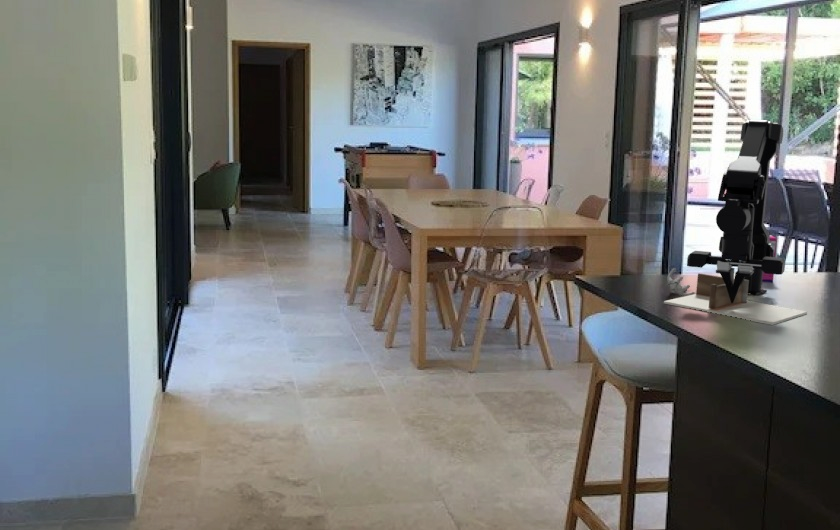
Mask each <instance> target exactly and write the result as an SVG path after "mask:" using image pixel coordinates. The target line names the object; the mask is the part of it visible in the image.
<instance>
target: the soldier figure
mask: <svg viewBox="0 0 840 530" xmlns="http://www.w3.org/2000/svg"><path fill="white" fill-rule="evenodd" d="M676 270H677V268H675V267H674V268H672V269H671V270H670V271H669V273H668V275H667V278H666V279H667V283H666V284H665V285H666V286H668V287H669V289H670V290H671V292H672V293H673V294H675V293H677V294H676V295H678V296H680V297H684V296H689V295H693V294H696V291H695V292H694V291H692V292H687V291H688V289H690V287H691V286H690V284H687V285H683V286H682V285H681V284H680V282H681V281H683V279H684V276H680V277H676V278H675V279H672V277H673V274H674V273H676Z"/></svg>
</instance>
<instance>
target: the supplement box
mask: <svg viewBox="0 0 840 530" xmlns="http://www.w3.org/2000/svg"><path fill="white" fill-rule="evenodd" d="M769 235H770V238H769V243H771V244H772V249H773V250H774V257H776V252H777V242H778V241H777V240H778V238H777V237H775V236H773V235H772V234H769ZM774 276H775V274H766V273H764V272H763V278H762V283H773V282H774Z"/></svg>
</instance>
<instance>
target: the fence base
mask: <svg viewBox="0 0 840 530" xmlns="http://www.w3.org/2000/svg"><path fill="white" fill-rule="evenodd" d="M711 284H716V285H722V284H725V283H724V281H723V278H722V276H718V275H712V274H706V273H701V272H699V273H697V281H696V291H695V293H696V294H699V295H705V296H710V287H711ZM748 285H749V280H744V281H743V285H742V295H741V302H739V303H747V301H748V295H749V294H748Z"/></svg>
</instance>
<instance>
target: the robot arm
mask: <svg viewBox="0 0 840 530" xmlns="http://www.w3.org/2000/svg"><path fill="white" fill-rule="evenodd" d="M783 138H784V127H783V126H782V125H781V124H779V122H772V121H771V120H770V121H769V120H768V119H749V120H746V122H743V123H742V125H741V133H740V141H741V142H742V145H741V147H740V151H739V155H738V157H737V159H735V160H734V161H731V162H730V163H729V165H728V168H726V169H727V170H726V172H724V173H722V174H723V175H722V178H721V183H720V186H719V187H720V188H719V193H718V198H717V202H724V206H723V207H722V208H720V209H719V210H718V211H717V214H716V217H715V222H716V225H717V227H718V229H719V230H720V231H721V232H723V233H722V236H720V239H719V245H718V251H719V252H720V253H721V256H719V255H717V256H716V255H712V252H711V251H703V250H694V251H692V252H690V253H689V254H687V260H686V266H687V267H692V268H700V269H701V268H703V267H705V266H706V265H710V266H711V265H714V266H716V270H715V273H716V274H720V277H722V278H723V281H724V283H725V285H726V288H727V291H728V294H729V298H730V301H731V303H734V301H735V299H736V296H737V294H738V292H739V289H740V287H741V285H742V283H743V281H744V280H749V285H748V295H752V296H753V295H754V296H756V295H760V294H761V295H762V294H765V293H767V292H768V291H767V289H762V288H763V287H762V286H763V282H762V278H763V272H764V273H766V274H774V275H783V274H784V273H785V270H786V260H785V259H784V258H783V257H777V256H775V257H774V250H773V249H772V244H771V243H769V238H770V235H771V234H770V233H769V231H768V229H767V227H766V226H765V215H766V204H767V203H766V202H767V194H768V185H769V184H768V183H769V175H770V165H771V164H770V163H771V160H772V159H773V158H774V156H775V155H776V154H777V152H778V151H779V149H780V145H781V144H782V143H783ZM735 267H736V268H737V270H736V272H735Z"/></svg>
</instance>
